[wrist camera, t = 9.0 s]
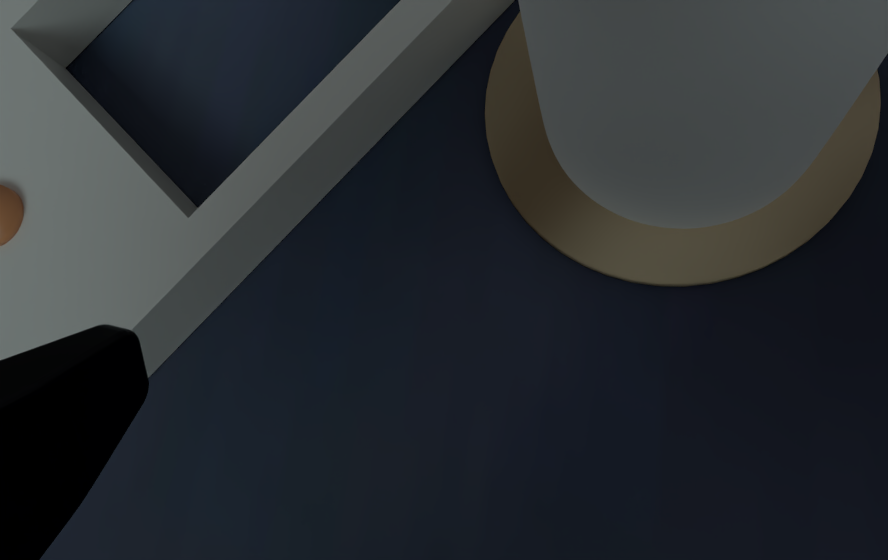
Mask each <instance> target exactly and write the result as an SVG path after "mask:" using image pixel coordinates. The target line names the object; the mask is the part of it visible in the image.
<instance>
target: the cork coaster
mask: <svg viewBox="0 0 888 560" xmlns="http://www.w3.org/2000/svg"><path fill="white" fill-rule="evenodd" d="M880 107H881V99H880V82H879V76H878V71H877V70H876V71H875V73H874V74H873V76H872V77H871V79H870V80H869V82H868V83H867V84H866V86H865V87H864V89H863V90H862V92H861V93H860V95H859V96H858V98H857V99H856V101H855V102H854V104H853V105H852V107H851V108H850V109H849V111H848V112H847V114H846V115H845V117H844V118H843V120H842V121H841V123H840V124H839V125H838V127H837V128H836V130H835V131H834V133H833V134H832V136H831V137H830V139H829V140H828V141H827V143H826V144H825V146H824V147H823V148H822V150H821V151H820V153H819V154H818V156H817V157H816V158H815V160H814V161H813V162H812V164H811V165H810V166H809V167H808V169H807V170H806V171H805V172H804V174H803V175H802V176H801V177H800V178H799V179H798V180H797V181H796V182H795V183H794V184H793V185H792V186H791V187H790V188H789V189H788V190H787V191H786V192H784V193H783V194H782V195H781V196H779V197H778V198H777V199H775V200H774V201H772V202H771V203H769V204H768V205H766V206H765V207H763V208H761V209H759V210H757V211H755V212H753V213H751V214H749V215H747V216H744V217H742V218H739V219H737V220H734V221H731V222H727V223H723V224H720V225H715V226H709V227H702V228H691V229H675V228H663V227H656V226H651V225H646V224H642V223H639V222H635V221H632V220H629V219H627V218H624V217H622V216H619V215H617V214H615V213H613V212H611V211H609V210H607V209H606V208H604V207H602V206H601V205H599V204H598V203H596V202H595V201H593V200H592V199H591V198H589V197H588V196H587V195H586V194H585V193H584V192H582V191H581V190H580V189H579V188H578V187H577V186H576V185H575V184H574V183H573V181H572V180H571V179H570V178H569V177H568V175H567V174H566V173H565V171H564V170H563V168H562V167H561V165H560V164H559V162H558V160H557V158H556V156H555V155H554V152H553V150H552V148H551V145H550V143H549V140H548V137H547V134H546V130H545V127H544V123H543V119H542V114H541V110H540V105H539V101H538V96H537V91H536V86H535V81H534V76H533V72H532V67H531V62H530V57H529V52H528V47H527V42H526V37H525V32H524V27H523V22H522V17H521V12H519V14H518V15H517V17H516V18H515V20H514V21H513V23H512V24H511V26H510V27H509V29H508V30H507V32H506V34H505V36H504V38H503V40H502V42H501V44H500V46H499V48H498V50H497V53H496V56H495V59H494V62H493V65H492V68H491V71H490V76H489V81H488V86H487V91H486V103H485V123H486V135H487V140H488V145H489V149H490V154H491V158H492V161H493V163H494V166H495V169H496V171H497V174H498V176H499V179H500V182H501V184H502V186H503V188H504V190H505V191H506V193H507V195H508V197H509V199H510V200H511V202H512V204H513V205H514V207H515V208H516V209H517V211H518V212H519V213H520V215H521V216H522V217H523V219H524V220H525V221H526V223H527V224H528V225H529V226H530V227H531V228H532V229H533V230H534V231H535V232H536V233H537V234H538V235H539V236H540V237H541V238H542V239H543V240H545V241H546V242H547V243H549V244H550V245H551V246H553V247H554V248H555V249H556V250H558V251H559V252H560V253H562V254H563V255H565V256H567V257H569V258H570V259H572V260H574V261H576V262H577V263H579V264H581V265H582V266H585V267H587V268H589V269H592V270H594V271H597V272H599V273H601V274H604V275H606V276H610V277H613V278H617V279H621V280H624V281H628V282H632V283H639V284H646V285H652V286H672V287H686V286H696V285H706V284H713V283H717V282H721V281H726V280H730V279H735V278H738V277H741V276H744V275H746V274H749V273H752V272H755V271H757V270H760V269H763V268H765V267H767V266H768V265H770V264H772V263H774V262H776V261H778V260H780V259H782V258H784V257H786V256H787V255H789V254H790V253H792V252H793V251H795V250H796V249H797V248H799V247H800V246H802V245H803V244H805V243H806V242H807V241H809V240H810V239H811V238H812V237H813V236H814V235H815V234H816V233H817V232H819V231H820V230H821V229H822V228H823V227H824V226H825V225H826V224H827V223H828V222H829V221H830V220H831V219H832V218H833V216H834V215H835V214H836V213H837V212H838V210H839V209H840V208H841V207H842V205H843V204H844V203H845V202H846V201H847V199H848V198H849V197H850V195H851V194H852V192H853V190H854V189H855V187H856V185H857V184H858V182H859V180H860V179H861V177H862V175H863V173H864V171H865V168H866V166H867V164H868V161H869V159H870V157H871V154H872V152H873V148H874V144H875V140H876V136H877V132H878V128H879V117H880Z"/></svg>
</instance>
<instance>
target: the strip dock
mask: <svg viewBox="0 0 888 560" xmlns="http://www.w3.org/2000/svg"><path fill="white" fill-rule="evenodd" d="M131 1H132V0H0V360H2V359H5V358H8V357H11V356H14V355H16V354H19V353H22V352H25V351H28V350H30V349H33V348H36V347H39V346H41V345H44V344H47V343H50V342H53V341H55V340H58V339H61V338H64V337H67V336H69V335H72V334H75V333H78V332H80V331H83V330H86V329H89V328H92V327H94V326H97V325H101V324H109V325H113V326H117V327H121V328H125V329H129V330H131V331H133V332H135V334H136V335H137V336H138V338H139V341H140V345H141V349H142V354H143V358H144V362H145V367H146V371H147V375H148V378H149V377H150V376H151V375H152V374H153V373H154V372H155V371H156V370H157V369H158V368H159V367H160V365H161V364H162V363H163V362H164V361H165V360H166V359H167V358H168V357H169V356H170V355H171V354H172V353H173V352H174V351H175V350H176V349H177V348H178V347H179V346H180V345H181V344H182V343H183V342H184V341H185V340H186V339H187V338H188V337H189V336H190V335H191V334H192V333H193V331H194V330H195V329H196V328H197V327H198V326H199V325H200V324H201V323H202V322H203V321H204V320H205V319H206V318H207V317H208V316H209V315H210V314H211V313H212V312H213V311H214V310H215V309H216V308H217V307H218V306H219V305H220V304H221V303H222V302H223V301H224V300H225V299H226V297H227V296H228V295H229V294H230V293H231V292H232V291H233V290H234V289H235V288H236V287H237V286H238V285H239V284H240V283H241V282H242V281H243V280H244V279H245V278H246V277H247V276H248V275H249V274H250V273H251V272H252V271H253V270H254V269H255V268H256V267H257V266H258V265H259V263H260V262H261V261H262V260H263V259H264V258H265V257H266V256H267V255H268V254H269V253H270V252H271V251H272V250H273V249H274V248H275V247H276V246H277V245H278V244H279V243H280V242H281V241H282V240H283V239H284V238H285V237H286V236H287V235H288V234H289V233H290V232H291V231H292V229H293V228H294V227H295V226H296V225H297V224H298V223H299V222H300V221H301V220H302V219H303V218H304V217H305V216H306V215H307V214H308V213H309V212H310V211H311V210H312V209H313V208H314V207H315V206H316V205H317V204H318V203H319V202H320V201H321V200H322V199H323V198H324V197H325V195H326V194H327V193H328V192H329V191H330V190H331V189H332V188H333V187H334V186H335V185H336V184H337V183H338V182H339V181H340V180H341V179H342V178H343V177H344V176H345V175H346V174H347V173H348V172H349V171H350V170H351V169H352V168H353V167H354V166H355V165H356V164H357V163H358V161H359V160H360V159H361V158H362V157H363V156H364V155H365V154H366V153H367V152H368V151H369V150H370V149H371V148H372V147H373V146H374V145H375V144H376V143H377V142H378V141H379V140H380V139H381V138H382V137H383V136H384V135H385V134H386V133H387V132H388V131H389V130H390V129H391V127H392V126H393V125H394V124H395V123H396V122H397V121H398V120H399V119H400V118H401V117H402V116H403V115H404V114H405V113H406V112H407V111H408V110H409V109H410V108H411V107H412V106H413V105H414V104H415V103H416V102H417V101H418V100H419V99H420V98H421V97H422V96H423V95H424V93H425V92H426V91H427V90H428V89H429V88H430V87H431V86H432V85H433V84H434V83H435V82H436V81H437V80H438V79H439V78H440V77H441V76H442V75H443V74H444V73H445V72H446V71H447V70H448V69H449V68H450V67H451V66H452V65H453V64H454V63H455V62H456V61H457V59H458V58H459V57H460V56H461V55H462V54H463V53H464V52H465V51H466V50H467V49H468V48H469V47H470V46H471V45H472V44H473V43H474V42H475V41H476V40H477V39H478V38H479V37H480V36H481V35H482V34H483V33H484V32H485V31H486V30H487V29H488V28H489V27H490V25H491V24H492V23H493V22H494V21H495V20H496V19H497V18H498V17H499V16H500V15H501V14H502V13H503V12H504V11H505V10H506V9H507V8H508V7H509V6H510V5H511V4H512V3H513V2H514V1H515V0H400V1H399V2H398V4H397V5H396V6H395V7H394V8H393V9H392V10H391V11H390V12H389V13H388V14H387V15H386V16H385V17H384V18H383V19H382V20H381V21H380V22H379V23H378V24H377V25H376V26H375V27H374V28H373V29H372V30H371V31H370V32H369V33H368V34H367V35H366V36H365V37H364V38H363V39H362V40H361V41H360V42H359V44H358V45H357V46H356V47H355V48H354V49H353V50H352V51H351V52H350V53H349V54H348V55H347V56H346V57H345V58H344V59H343V60H342V61H341V62H340V63H339V64H338V65H337V66H336V67H335V68H334V69H333V70H332V71H331V72H330V73H329V74H328V75H327V76H326V77H325V78H324V79H323V80H322V81H321V82H320V84H319V85H318V86H317V87H316V88H315V89H314V90H313V91H312V92H311V93H310V94H309V95H308V96H307V97H306V98H305V99H304V100H303V101H302V102H301V103H300V104H299V105H298V106H297V107H296V108H295V109H294V110H293V111H292V112H291V113H290V114H289V115H288V116H287V117H286V118H285V119H284V120H283V121H282V122H281V124H280V125H279V126H278V127H277V128H276V129H275V130H274V131H273V132H272V133H271V134H270V135H269V136H268V137H267V138H266V139H265V140H264V141H263V142H262V143H261V144H260V145H259V146H258V147H257V148H256V149H255V150H254V151H253V152H252V153H251V154H250V155H249V156H248V157H247V158H246V159H245V160H244V161H243V162H242V164H241V165H240V166H239V167H238V168H237V169H236V170H235V171H234V172H233V173H232V174H231V175H230V176H229V177H228V178H227V179H226V180H225V181H224V182H223V183H222V184H221V185H220V186H219V187H218V188H217V189H216V190H215V191H214V192H213V193H212V194H211V195H210V196H209V197H208V198H207V199H206V200H205V201H204V202H203V204H202V205H201V206H200V207H199V208H197V207H196V205H195V204H194V203H193V202H192V201H191V200H190V199H189V198H188V197H187V196H186V195H185V194H184V193H183V192H182V191H181V190H180V189H179V188H178V186H177V185H176V184H175V183H174V182H173V181H172V180H171V179H170V178H169V177H168V176H167V175H166V174H165V173H164V172H163V171H162V170H161V169H160V168H159V166H158V165H157V164H156V163H155V162H154V161H153V160H152V159H151V158H150V157H149V156H148V155H147V154H146V153H145V152H144V151H143V150H142V149H141V147H140V146H139V145H138V144H137V143H136V142H135V141H134V140H133V139H132V138H131V137H130V136H129V135H128V134H127V133H126V132H125V131H124V130H123V128H122V127H121V126H120V125H119V124H118V123H117V122H116V121H115V120H114V119H113V118H112V117H111V116H110V115H109V114H108V113H107V112H106V111H105V109H104V108H103V107H102V106H101V105H100V104H99V103H98V102H97V101H96V100H95V99H94V98H93V97H92V96H91V95H90V94H89V93H88V92H87V90H86V89H85V88H84V87H83V86H82V85H81V84H80V83H79V82H78V81H77V80H76V79H75V78H74V77H73V76H72V75H71V74H70V73H69V71H68V70H67V69H66V67H67V66H68V65H69V64H70V63H71V62H72V61H73V60H74V59H75V58H76V57H77V56H78V55H79V54H80V53H81V52H82V51H83V50H84V49H85V48H86V47H87V46H88V45H89V44H90V43H91V42H92V41H93V40H94V39H95V38H96V37H97V36H98V35H99V34H100V33H101V32H102V31H103V30H104V29H105V28H106V27H107V26H108V25H109V23H110V22H111V21H112V20H113V19H114V18H115V17H116V16H117V15H118V14H119V13H120V12H121V11H122V10H123V9H124V8H125V7H126V6H127V5H128V4H129V3H130V2H131Z"/></svg>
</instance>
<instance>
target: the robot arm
mask: <svg viewBox="0 0 888 560" xmlns="http://www.w3.org/2000/svg"><path fill="white" fill-rule="evenodd" d="M148 388H149V381H148V375H147V371H146V367H145V362H144V358H143V354H142V349H141V345H140V341H139V338H138V336H137V335H136V334H135V332H133V331H131V330H129V329H125V328H121V327H117V326H113V325H109V324H101V325H97V326H94V327H92V328H89V329H86V330H83V331H80V332H78V333H75V334H72V335H69V336H67V337H64V338H61V339H58V340H55V341H53V342H50V343H47V344H44V345H41V346H39V347H36V348H33V349H30V350H28V351H25V352H22V353H19V354H16V355H14V356H11V357H8V358H5V359H2V360H0V560H39V559H40V558H41V557H42V555H43V554H44V553H45V551H46V550H47V549H48V547H49V546H50V545H51V543H52V542H53V541H54V539H55V538H56V537H57V535H58V534H59V533H60V532H61V530H62V529H63V528H64V526H65V525H66V524H67V522H68V521H69V520H70V518H71V517H72V515H73V514H74V513H75V511H76V510H77V508H78V507H79V506H80V504H81V503H82V501H83V500H84V498H85V497H86V495H87V494H88V492H89V491H90V489H91V488H92V486H93V484H94V483H95V481H96V480H97V478H98V476H99V475H100V473H101V471H102V470H103V468H104V466H105V465H106V463H107V462H108V460H109V458H110V457H111V455H112V453H113V452H114V450H115V449H116V447H117V445H118V444H119V442H120V440H121V439H122V437H123V435H124V434H125V432H126V431H127V429H128V427H129V426H130V424H131V422H132V421H133V419H134V418H135V416H136V414H137V413H138V411H139V409H140V408H141V406H142V405H143V403H144V401H145V399H146V396H147V393H148Z"/></svg>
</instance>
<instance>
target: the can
mask: <svg viewBox="0 0 888 560" xmlns="http://www.w3.org/2000/svg"><path fill="white" fill-rule="evenodd" d="M518 2H519V7H520V12H521V17H522V22H523V27H524V32H525V37H526V42H527V47H528V52H529V57H530V62H531V67H532V72H533V76H534V81H535V86H536V91H537V96H538V101H539V105H540V110H541V114H542V119H543V123H544V127H545V130H546V134H547V137H548V140H549V143H550V145H551V148H552V150H553V152H554V155H555V156H556V158H557V160H558V162H559V164H560V165H561V167H562V168H563V170H564V171H565V173H566V174H567V175H568V177H569V178H570V179H571V180H572V181H573V183H574V184H575V185H576V186H577V187H578V188H579V189H580V190H581V191H582V192H584V193H585V194H586V195H587V196H588V197H589V198H591V199H592V200H593V201H595V202H596V203H598V204H599V205H601V206H602V207H604V208H606V209H607V210H609V211H611V212H613V213H615V214H617V215H619V216H622V217H624V218H627V219H629V220H632V221H635V222H639V223H642V224H646V225H651V226H656V227H663V228H675V229H691V228H702V227H709V226H715V225H720V224H723V223H727V222H731V221H734V220H737V219H739V218H742V217H744V216H747V215H749V214H751V213H753V212H755V211H757V210H759V209H761V208H763V207H765V206H766V205H768V204H769V203H771V202H772V201H774V200H775V199H777V198H778V197H779V196H781V195H782V194H783V193H784V192H786V191H787V190H788V189H789V188H790V187H791V186H792V185H793V184H794V183H795V182H796V181H797V180H798V179H799V178H800V177H801V176H802V175H803V174H804V172H805V171H806V170H807V169H808V167H809V166H810V165H811V164H812V162H813V161H814V160H815V158H816V157H817V156H818V154H819V153H820V151H821V150H822V148H823V147H824V146H825V144H826V143H827V141H828V140H829V139H830V137H831V136H832V134H833V133H834V131H835V130H836V128H837V127H838V125H839V124H840V123H841V121H842V120H843V118H844V117H845V115H846V114H847V112H848V111H849V109H850V108H851V107H852V105H853V104H854V102H855V101H856V99H857V98H858V96H859V95H860V93H861V92H862V90H863V89H864V87H865V86H866V84H867V83H868V82H869V80H870V79H871V77H872V76H873V74H874V73H875V71H876V70H877V68H878V67H879V65H880V64H881V62H882V61H883V59H884V58H885V57H886V55H887V54H888V0H518Z"/></svg>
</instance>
